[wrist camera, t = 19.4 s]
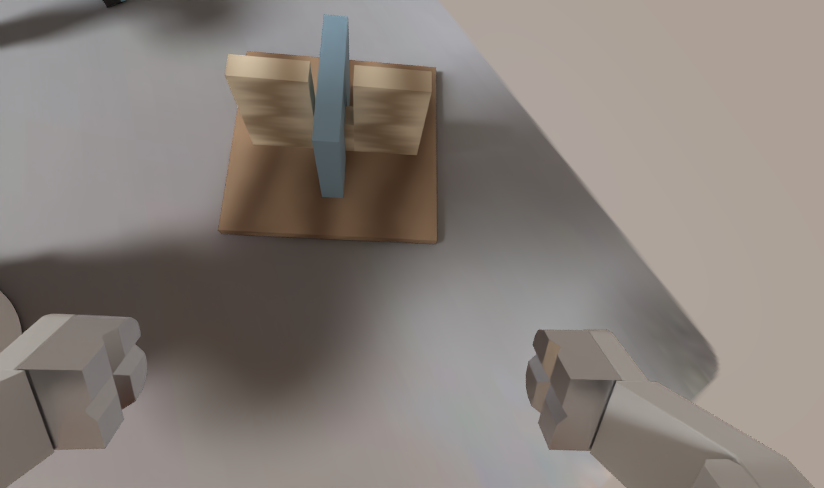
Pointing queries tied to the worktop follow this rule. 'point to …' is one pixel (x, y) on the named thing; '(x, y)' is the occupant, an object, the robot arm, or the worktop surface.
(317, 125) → the slotted plate
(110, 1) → the push button
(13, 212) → the worktop surface
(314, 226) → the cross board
